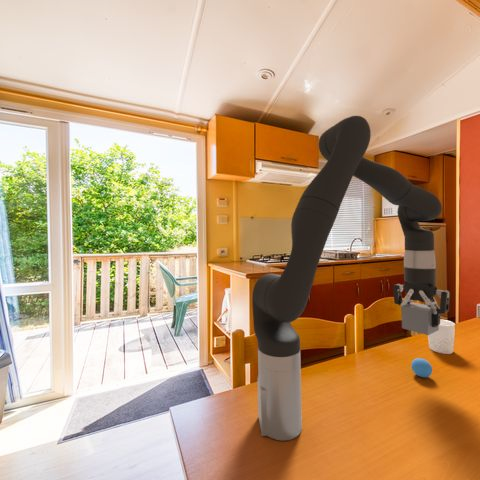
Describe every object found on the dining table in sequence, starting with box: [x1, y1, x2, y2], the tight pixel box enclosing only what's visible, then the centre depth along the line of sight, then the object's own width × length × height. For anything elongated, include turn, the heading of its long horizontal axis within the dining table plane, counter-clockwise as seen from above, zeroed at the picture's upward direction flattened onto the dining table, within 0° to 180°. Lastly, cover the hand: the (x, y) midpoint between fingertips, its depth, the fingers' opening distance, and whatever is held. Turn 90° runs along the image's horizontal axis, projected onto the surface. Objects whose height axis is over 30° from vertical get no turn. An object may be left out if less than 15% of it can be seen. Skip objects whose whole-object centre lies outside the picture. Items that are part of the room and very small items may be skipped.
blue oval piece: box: [411, 357, 433, 378], centre depth 75 cm, size 5×5×5 cm
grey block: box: [401, 301, 439, 336], centre depth 75 cm, size 7×7×7 cm
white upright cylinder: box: [427, 318, 456, 355], centre depth 92 cm, size 8×8×10 cm
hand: (420, 323), depth 75 cm, fingers closed on grey block, 6 cm apart
